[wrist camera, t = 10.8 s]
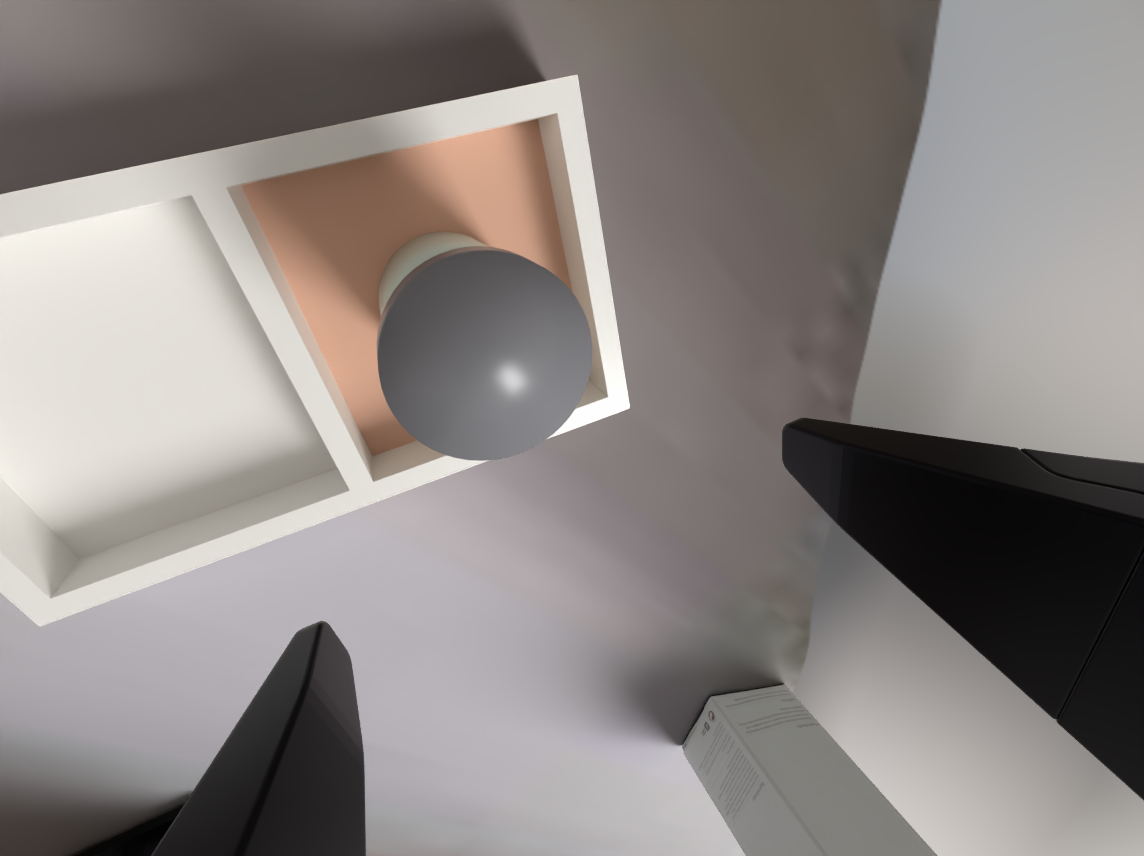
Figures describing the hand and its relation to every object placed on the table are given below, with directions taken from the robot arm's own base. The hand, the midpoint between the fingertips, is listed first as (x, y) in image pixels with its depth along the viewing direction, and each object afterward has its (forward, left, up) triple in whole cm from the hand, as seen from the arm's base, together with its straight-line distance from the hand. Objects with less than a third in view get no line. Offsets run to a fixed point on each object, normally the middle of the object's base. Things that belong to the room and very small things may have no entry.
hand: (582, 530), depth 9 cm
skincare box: (+11, -34, -12) cm, 38 cm away
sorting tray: (-5, +2, -12) cm, 13 cm away
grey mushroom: (0, +2, -11) cm, 11 cm away
